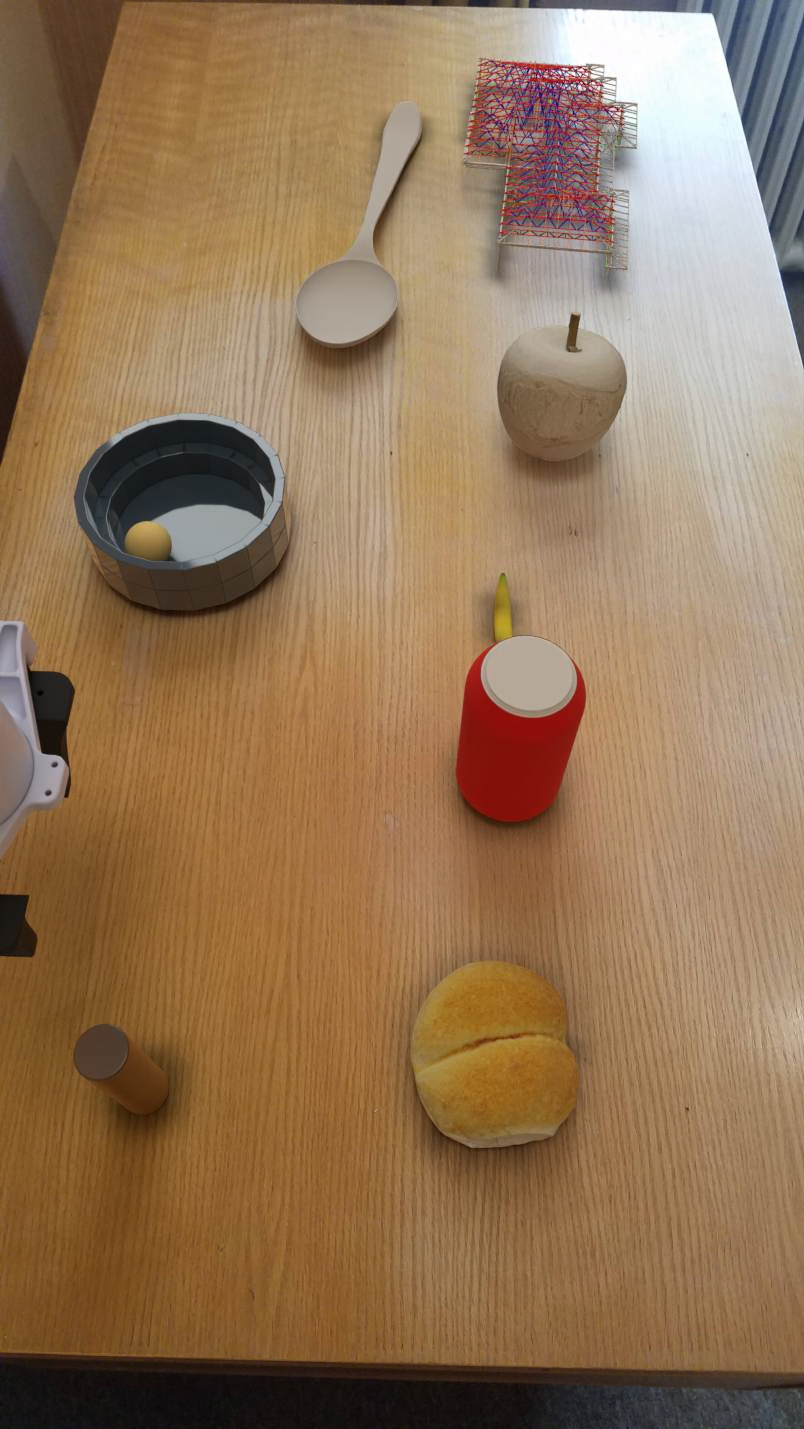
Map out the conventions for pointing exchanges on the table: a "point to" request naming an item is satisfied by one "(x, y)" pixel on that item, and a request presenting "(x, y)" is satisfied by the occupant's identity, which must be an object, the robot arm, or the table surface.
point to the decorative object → (560, 390)
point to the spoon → (361, 255)
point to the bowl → (186, 509)
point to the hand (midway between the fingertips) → (31, 866)
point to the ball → (148, 541)
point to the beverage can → (518, 727)
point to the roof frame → (595, 171)
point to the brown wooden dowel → (120, 1069)
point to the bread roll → (494, 1056)
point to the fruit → (502, 611)
